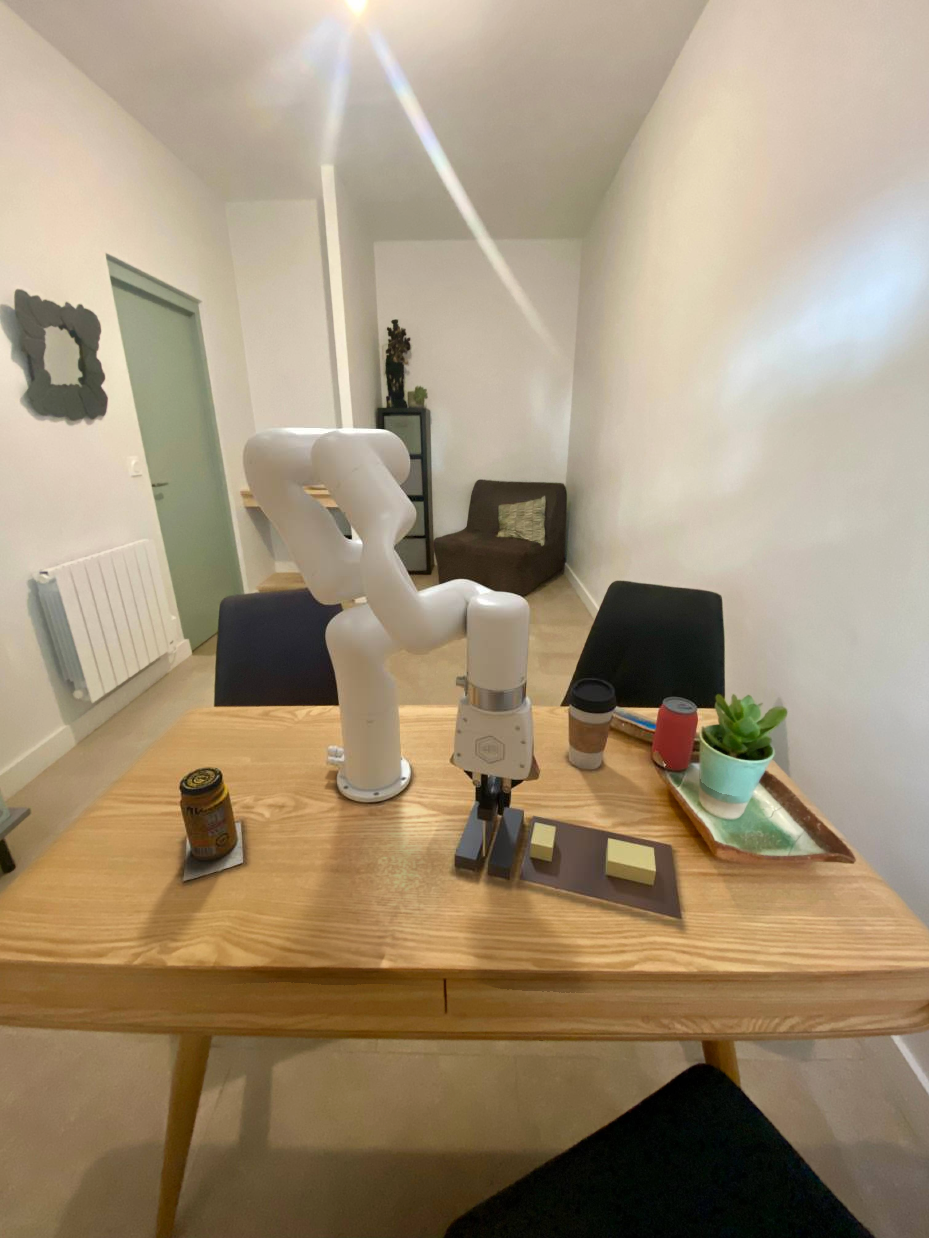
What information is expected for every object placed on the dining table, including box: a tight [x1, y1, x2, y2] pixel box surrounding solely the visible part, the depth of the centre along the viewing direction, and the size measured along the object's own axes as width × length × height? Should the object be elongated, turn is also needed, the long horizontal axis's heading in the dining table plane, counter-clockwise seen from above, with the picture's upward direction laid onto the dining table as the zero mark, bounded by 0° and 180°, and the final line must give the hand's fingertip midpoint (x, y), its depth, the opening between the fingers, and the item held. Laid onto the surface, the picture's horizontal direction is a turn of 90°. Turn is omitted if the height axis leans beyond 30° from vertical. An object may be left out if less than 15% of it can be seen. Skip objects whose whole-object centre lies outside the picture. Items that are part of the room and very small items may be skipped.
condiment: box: [178, 766, 244, 882], centre depth 67 cm, size 7×8×12 cm
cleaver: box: [477, 775, 502, 857], centre depth 67 cm, size 2×10×8 cm, turn 164°
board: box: [519, 815, 682, 920], centre depth 67 cm, size 20×12×1 cm, turn 74°
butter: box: [606, 838, 656, 885], centre depth 65 cm, size 6×4×2 cm, turn 74°
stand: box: [454, 800, 525, 881], centre depth 69 cm, size 8×11×3 cm
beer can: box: [650, 696, 699, 772], centre depth 87 cm, size 7×7×12 cm
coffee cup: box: [567, 677, 617, 771], centre depth 87 cm, size 8×8×15 cm
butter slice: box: [530, 822, 556, 862], centre depth 68 cm, size 3×4×2 cm
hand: (492, 806), depth 67 cm, fingers closed on cleaver, 2 cm apart
